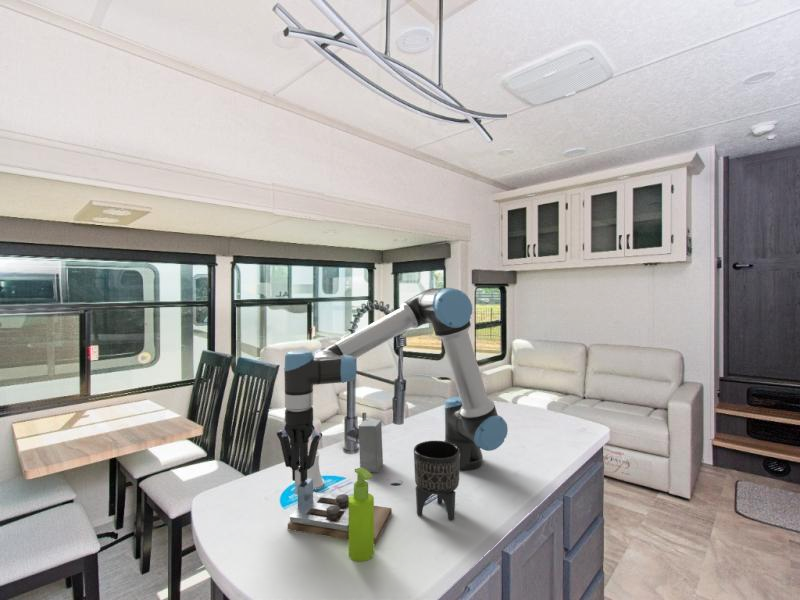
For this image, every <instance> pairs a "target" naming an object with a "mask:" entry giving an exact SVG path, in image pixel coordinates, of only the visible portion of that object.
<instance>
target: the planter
mask: <svg viewBox="0 0 800 600" xmlns="http://www.w3.org/2000/svg"><path fill="white" fill-rule="evenodd" d="M413 463H414V467H413V468H414V482H415V485H416V486H415V502H416V503H415V504H416V514H417V516H418V517H419V516H420V517H421V516H423V510H424V506H425V503H426V501H427V500H428V499H429V498H430V497H431V496H432V495H436V496H437V499H436V500H437V504H441V505H442V504H443V503H444V505H445V507H446V512H447V520H448V521H450V522H452V521H455V515H456V513H455V511H456V510H455V509H456V489H458V486H459V483H460V471H461V470H460V449H459V447H458V446H456V445H454V444H452V443H449V442H445V440H443V441H442V440H426V441H423V442H420V443H418V444H416V445H414V447H413Z"/></svg>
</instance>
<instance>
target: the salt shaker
mask: <svg viewBox="0 0 800 600" xmlns="http://www.w3.org/2000/svg"><path fill="white" fill-rule="evenodd" d="M308 455H309V451H308ZM319 463H320V452H318V451H317V453H316V457H315V462H314V465H313V466H312V467H311V468H310V469H307V478H311V479H313V490H314V489H315V488H316V489H315V490H314V491H317V489H318V490H320V489H322V488H323V487H324V486H325V480H324V478H323V477H322V474H321V470H320V464H319Z"/></svg>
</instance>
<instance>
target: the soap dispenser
mask: <svg viewBox="0 0 800 600" xmlns="http://www.w3.org/2000/svg"><path fill="white" fill-rule="evenodd" d="M354 473H356V475H357V476H356V477H357V481H355V482H354V483H353V494H351V495H350V496H348V497H349V540H348V556H349V559H350V560H353V561H355V562H358V563H359V562H360V563H362V562H367V561H369V560H370V559H372V558H373V556H374V555H375V551H374V550H375V544H374V506H375V504H374V503H375V502H374V501H375V499H374V496H373V495H372V494H371V493H369V482H368V480H370V479H373V478H374V476H373V474H372V472H369V471H367V470H366V469H364V468H362V467H360V466H359V467H358V468H355V469H354Z"/></svg>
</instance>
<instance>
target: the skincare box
mask: <svg viewBox="0 0 800 600" xmlns="http://www.w3.org/2000/svg"><path fill="white" fill-rule="evenodd" d="M357 428H358V449H359V468H360V467H362V468H364V469H366V470H367V471H369V472H370V473H379V471H380V469H381V468H382V467H383V466H382V465H383V462H384V458H383V457H384V456H383V455H384V454H383V433H382V431H383V430H382V420H381V419H364V420H363V421H361V422H360V424H359V425H358V427H357Z"/></svg>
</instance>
